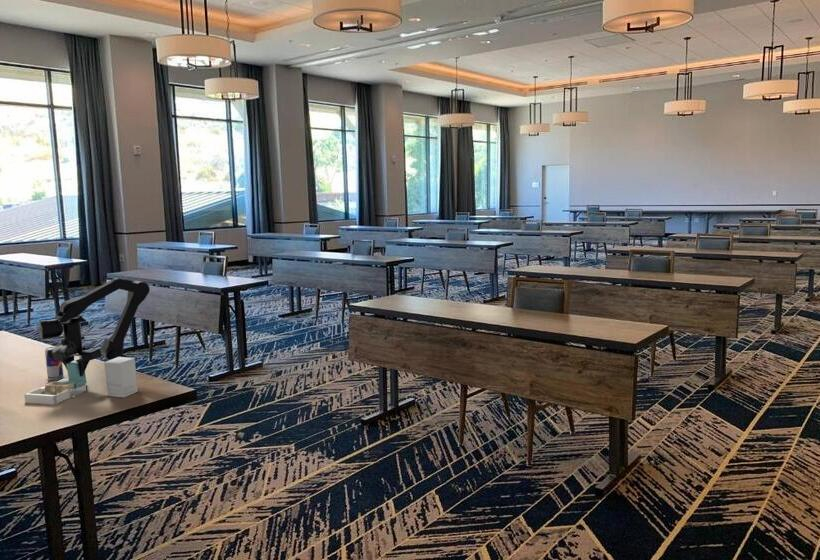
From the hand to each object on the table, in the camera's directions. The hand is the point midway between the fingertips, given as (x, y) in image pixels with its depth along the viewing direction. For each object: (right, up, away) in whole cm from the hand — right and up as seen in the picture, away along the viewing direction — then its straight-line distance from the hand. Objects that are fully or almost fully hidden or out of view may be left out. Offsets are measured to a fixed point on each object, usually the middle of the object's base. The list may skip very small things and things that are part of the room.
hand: (76, 375), depth 236 cm
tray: (-3, -6, -14) cm, 15 cm away
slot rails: (-1, -5, -7) cm, 9 cm away
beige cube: (+1, -6, -8) cm, 10 cm away
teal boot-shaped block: (0, -4, -1) cm, 4 cm away
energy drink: (-14, -3, +11) cm, 18 cm away
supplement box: (+21, -5, -8) cm, 23 cm away
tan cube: (-4, -6, -8) cm, 10 cm away
